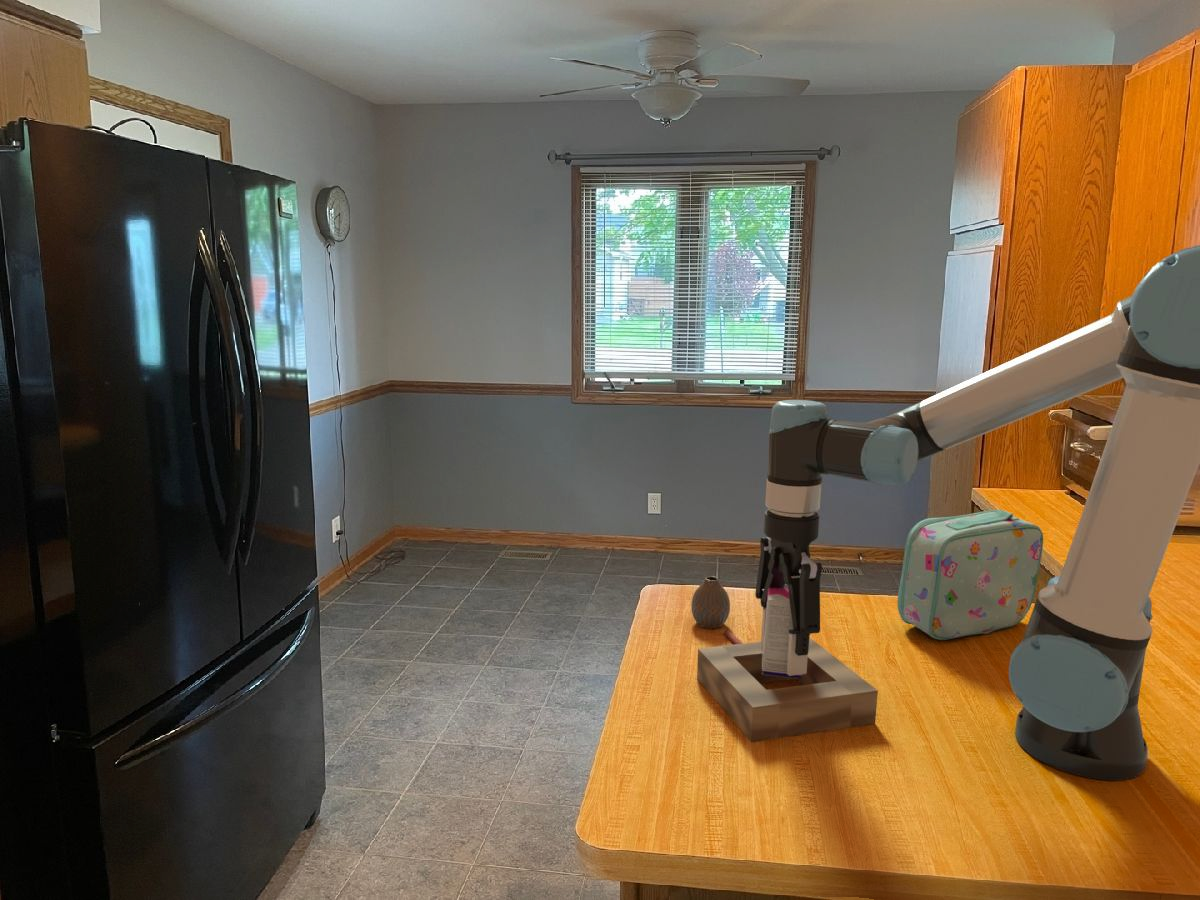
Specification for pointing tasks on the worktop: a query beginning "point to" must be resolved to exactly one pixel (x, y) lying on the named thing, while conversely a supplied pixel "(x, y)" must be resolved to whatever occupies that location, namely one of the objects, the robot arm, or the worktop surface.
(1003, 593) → the lunch box
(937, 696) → the worktop surface
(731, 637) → the reddish-brown thin rod
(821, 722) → the brown wooden square frame
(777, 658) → the supplement box
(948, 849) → the worktop surface
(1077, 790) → the worktop surface
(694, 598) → the vase
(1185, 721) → the worktop surface
